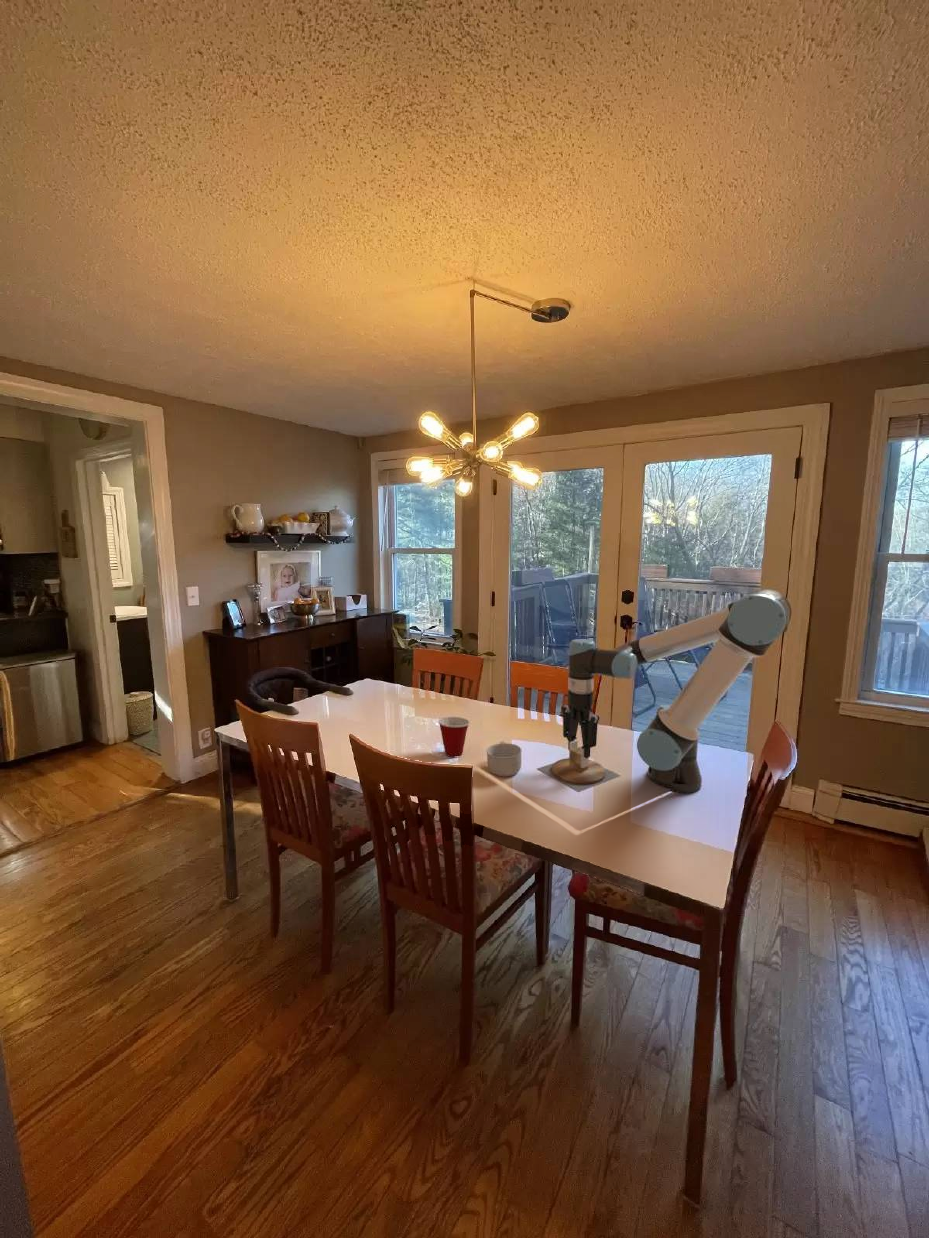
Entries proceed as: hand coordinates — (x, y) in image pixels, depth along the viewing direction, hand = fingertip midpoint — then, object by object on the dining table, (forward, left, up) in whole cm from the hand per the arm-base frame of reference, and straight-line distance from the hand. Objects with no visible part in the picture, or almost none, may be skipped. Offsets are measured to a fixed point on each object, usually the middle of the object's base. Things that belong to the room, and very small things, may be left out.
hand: (578, 763), depth 159 cm
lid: (0, 0, -3) cm, 3 cm away
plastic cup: (+35, +23, -4) cm, 42 cm away
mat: (0, 0, -4) cm, 4 cm away
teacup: (+15, +17, -4) cm, 23 cm away
